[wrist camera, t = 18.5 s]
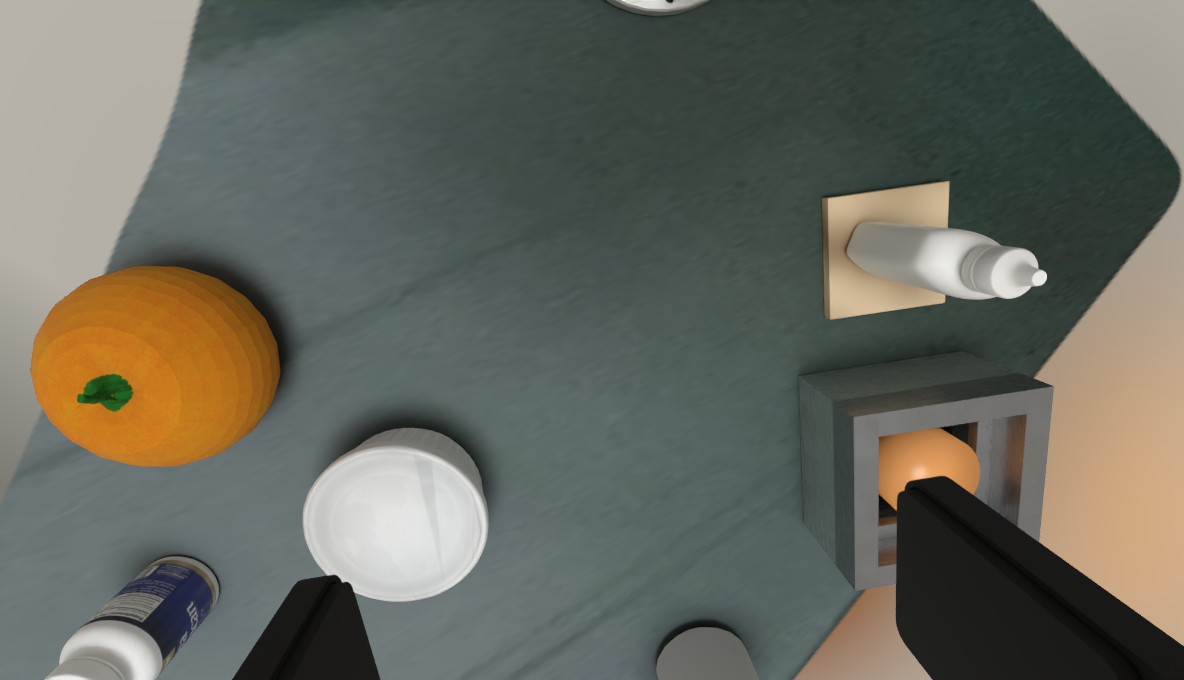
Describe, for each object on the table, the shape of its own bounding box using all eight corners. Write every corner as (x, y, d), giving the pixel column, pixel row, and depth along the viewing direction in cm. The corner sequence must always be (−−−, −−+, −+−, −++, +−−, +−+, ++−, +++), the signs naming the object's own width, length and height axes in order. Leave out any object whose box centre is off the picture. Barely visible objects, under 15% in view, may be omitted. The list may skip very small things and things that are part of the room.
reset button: (844, 411, 40) (889, 445, 34) (925, 398, 40) (982, 430, 34) (845, 485, 41) (888, 529, 36) (923, 473, 41) (977, 514, 36)
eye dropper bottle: (888, 195, 36) (1050, 196, 24) (934, 259, 37) (1109, 290, 25) (834, 242, 36) (967, 265, 25) (882, 303, 37) (1029, 353, 26)
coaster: (821, 198, 36) (827, 198, 35) (940, 181, 36) (949, 181, 36) (824, 317, 38) (830, 319, 37) (936, 300, 38) (944, 302, 38)
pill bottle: (222, 619, 41) (124, 746, 32) (144, 613, 41) (21, 740, 31) (222, 557, 40) (120, 669, 30) (141, 549, 39) (12, 662, 30)
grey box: (798, 375, 39) (853, 417, 32) (965, 350, 40) (1056, 385, 32) (803, 522, 42) (855, 590, 35) (957, 498, 43) (1040, 560, 36)
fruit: (81, 271, 34) (-104, 301, 25) (273, 246, 35) (164, 267, 25) (145, 443, 37) (2, 531, 28) (320, 419, 38) (240, 496, 28)
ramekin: (527, 492, 40) (523, 536, 35) (412, 580, 42) (393, 634, 36) (419, 381, 38) (398, 410, 32) (300, 478, 39) (262, 521, 34)
